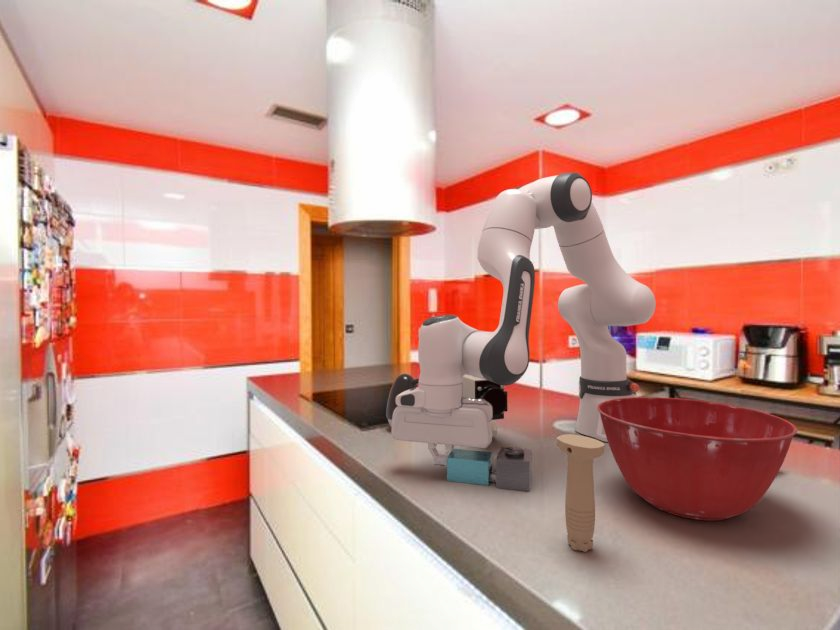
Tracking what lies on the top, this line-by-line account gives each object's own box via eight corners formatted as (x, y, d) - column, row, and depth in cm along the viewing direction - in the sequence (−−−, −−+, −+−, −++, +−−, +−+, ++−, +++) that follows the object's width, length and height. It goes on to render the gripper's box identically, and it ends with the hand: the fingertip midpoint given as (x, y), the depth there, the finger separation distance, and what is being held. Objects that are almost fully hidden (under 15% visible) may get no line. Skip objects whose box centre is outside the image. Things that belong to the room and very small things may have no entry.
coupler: (446, 482, 85) (446, 449, 85) (454, 468, 92) (454, 438, 92) (529, 491, 81) (529, 457, 80) (531, 477, 87) (531, 445, 87)
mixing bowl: (652, 460, 96) (652, 389, 95) (824, 513, 72) (826, 418, 71) (564, 492, 81) (564, 407, 80) (746, 571, 56) (747, 451, 56)
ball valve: (513, 447, 105) (513, 373, 104) (481, 452, 102) (480, 375, 102) (479, 427, 122) (478, 363, 121) (450, 431, 119) (450, 365, 119)
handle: (590, 563, 58) (590, 450, 58) (550, 542, 64) (550, 438, 63) (610, 551, 61) (611, 443, 61) (571, 531, 67) (571, 432, 66)
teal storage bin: (447, 480, 86) (446, 457, 86) (453, 470, 91) (453, 448, 91) (488, 485, 84) (488, 461, 83) (492, 474, 89) (492, 452, 89)
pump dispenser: (417, 436, 115) (417, 377, 114) (380, 432, 118) (379, 375, 118) (429, 425, 124) (428, 371, 124) (394, 422, 128) (394, 370, 127)
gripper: (495, 396, 89) (495, 464, 89) (399, 390, 95) (399, 454, 95) (490, 403, 83) (490, 476, 83) (388, 396, 89) (388, 465, 89)
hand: (441, 464), depth 89 cm, fingers closed
